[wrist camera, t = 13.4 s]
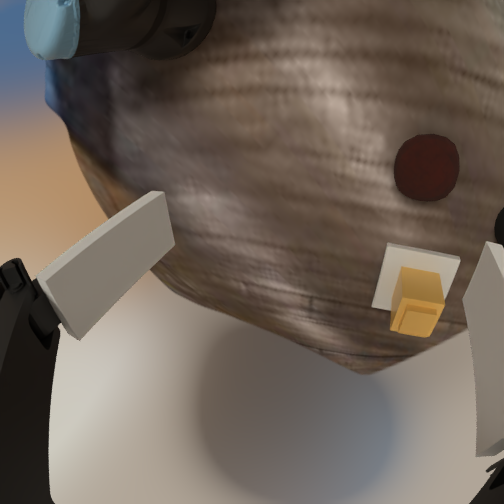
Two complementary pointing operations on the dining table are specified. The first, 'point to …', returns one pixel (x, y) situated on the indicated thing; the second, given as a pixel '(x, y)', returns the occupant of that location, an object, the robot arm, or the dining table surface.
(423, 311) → the orange block
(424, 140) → the potato
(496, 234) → the wine bottle
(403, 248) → the post plate
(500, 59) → the dining table surface
